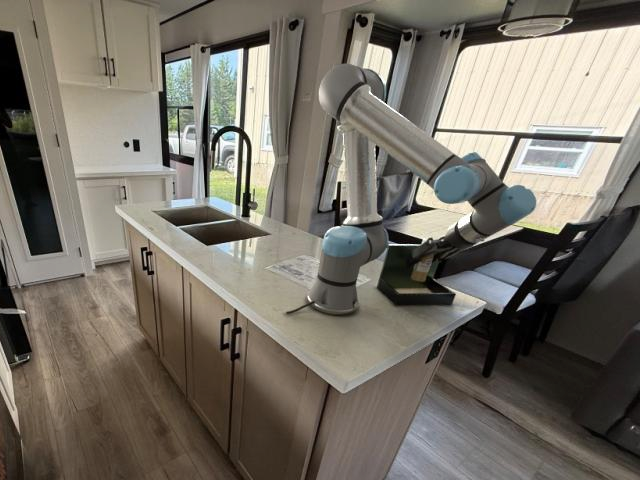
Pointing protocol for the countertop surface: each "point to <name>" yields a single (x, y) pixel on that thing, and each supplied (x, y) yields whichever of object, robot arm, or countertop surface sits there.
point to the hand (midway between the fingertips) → (414, 264)
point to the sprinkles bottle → (422, 267)
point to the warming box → (410, 280)
